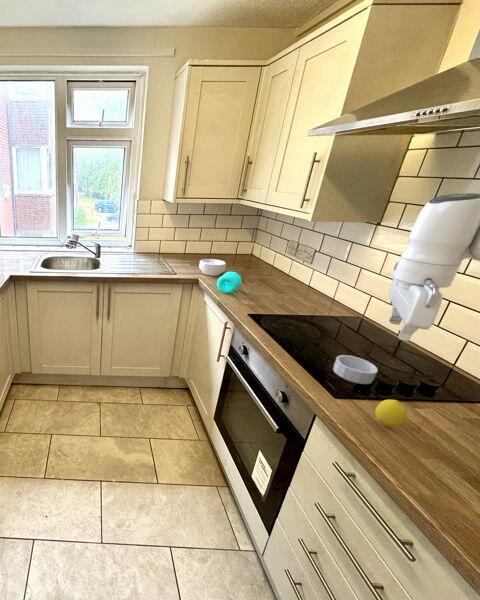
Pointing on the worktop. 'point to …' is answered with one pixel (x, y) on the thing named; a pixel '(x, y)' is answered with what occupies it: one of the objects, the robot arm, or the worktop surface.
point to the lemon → (391, 413)
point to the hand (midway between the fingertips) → (398, 330)
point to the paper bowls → (212, 266)
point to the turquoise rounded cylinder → (225, 285)
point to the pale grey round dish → (355, 369)
